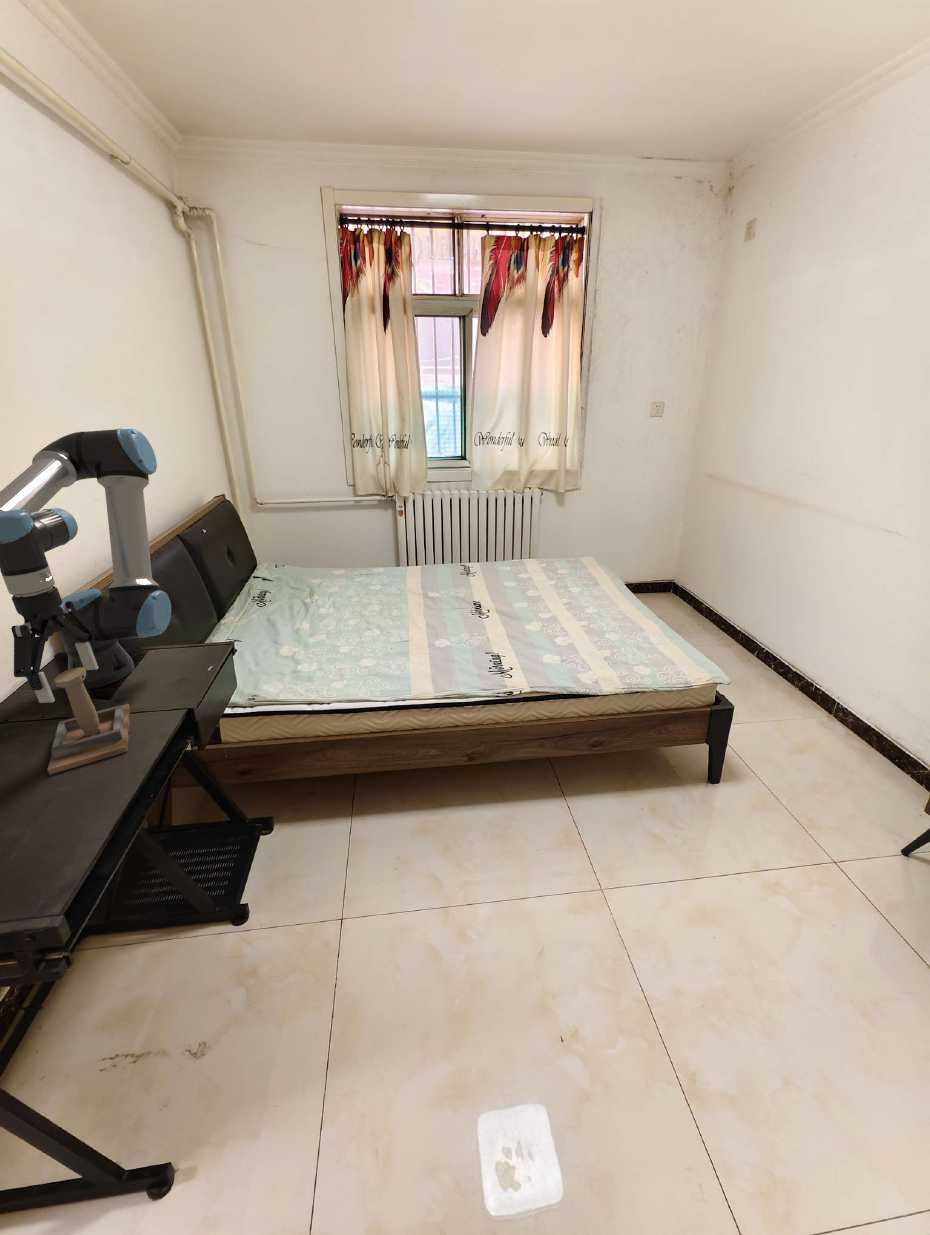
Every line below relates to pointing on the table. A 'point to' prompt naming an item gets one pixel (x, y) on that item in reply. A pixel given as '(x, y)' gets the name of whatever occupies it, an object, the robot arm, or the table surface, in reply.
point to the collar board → (90, 740)
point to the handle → (79, 700)
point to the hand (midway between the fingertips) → (70, 684)
